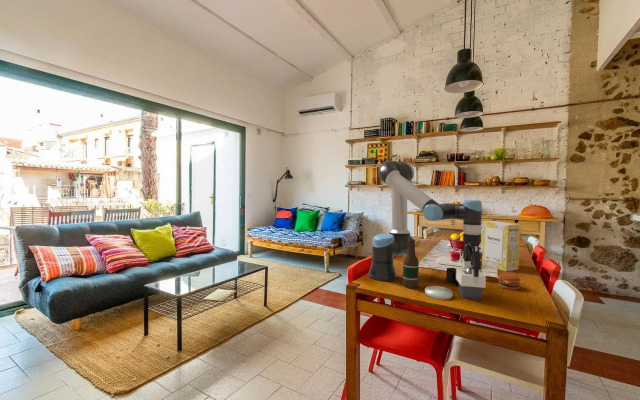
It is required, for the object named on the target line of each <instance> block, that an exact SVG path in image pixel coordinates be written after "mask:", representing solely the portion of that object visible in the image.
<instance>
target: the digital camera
mask: <svg viewBox="0 0 640 400" xmlns="http://www.w3.org/2000/svg"><path fill="white" fill-rule="evenodd" d="M456 269H457V268H455V267H447V268H446V273H445V274H446V277H445V279H446V280H445V281H447V282H448V283H450V284H452V285H455V286H457V287H459V282H458V281H457V280H456Z"/></svg>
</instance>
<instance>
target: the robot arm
mask: <svg viewBox="0 0 640 400" xmlns="http://www.w3.org/2000/svg"><path fill="white" fill-rule="evenodd" d="M377 174H378V177H379V179H380V180H381V182H383V183H384V184H385V185H386V186H387V187H390V188H391V230H390V231H389V233H380V234H378V233H377V234H376V235H375V236H373V238H372V242H371V243H372V244H371V245H372V247H371V249H372V251H371V252H372V254H371V255H372V260H371V265H370V268H369V271H368V277H369V278H371V279H373V280H376V281H381V282H383V281H385V282H389V281H395V280H396V279H397V270H396V267H395V263H394V257H397V256H406V255H407V252H408V239H414V238H413V236H412V235H411V231H410V230H409V229H408V201H409V202H410V203H411V204H413V206H415V207H416V208H418V210H420V211H422V215H423V216H424V219H426V220H427V221H432V222H437V221H443V220H445V221H446V220H461V221H462V222H463V223H462V232H463V234H462V241H463V242H464V249H463V250H464V254H463V259H464V269H466V268H467V267H470V266H471V262H470V261H471V260H472V265H473V267H472V268H471V269H472V284H479V270H480V269H481V262H480V254H479V252H480V247H479V246H478V245H477V244H481V230H482V228H483V227H482V221H483V220H482V217H483V214H482V213H483V203H482V201H481V200H477V199H465V200H463V203H451V202H447V203H446V202H443V203H439V202H437V201H436V200H435V199H433V198H432V197H431V196H430V195H428V194H427V193H426V192H424V191H423V190H421V189H420V188H419V187H417V186H416V185H414V184H413V183H412V182H411V181H412V180H413V179H414V175H415V169H414V168H413V165H411V164H410V163H408V162H405V161H394V160H386V161H383V162H382V163H381V164H380V165H379V167H378V170H377Z"/></svg>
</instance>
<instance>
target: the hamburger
mask: <svg viewBox="0 0 640 400" xmlns="http://www.w3.org/2000/svg"><path fill="white" fill-rule="evenodd" d="M495 278H496V279H498V287H499V288H502V289H505V290H509V291H518V290H520V284H524V281H523V280H521V279H520V277H518V276H517V275H515V274H511V273H501V274H499V275H498V276H497V277H495Z"/></svg>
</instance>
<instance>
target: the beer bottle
mask: <svg viewBox="0 0 640 400" xmlns="http://www.w3.org/2000/svg"><path fill="white" fill-rule="evenodd" d="M416 255H417V254H416V239H414V238H413V239H408V252H407V254H406V255H405V257H404V259H403V263H402V264H403V266H402V286H403V287H404V288H406V289H407V288H408V289H417V288H418V286H419V267H420V266H419V259H418V257H417V256H416Z"/></svg>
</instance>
